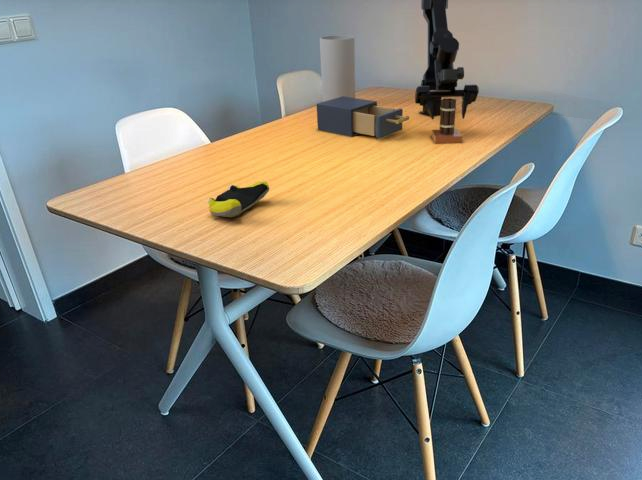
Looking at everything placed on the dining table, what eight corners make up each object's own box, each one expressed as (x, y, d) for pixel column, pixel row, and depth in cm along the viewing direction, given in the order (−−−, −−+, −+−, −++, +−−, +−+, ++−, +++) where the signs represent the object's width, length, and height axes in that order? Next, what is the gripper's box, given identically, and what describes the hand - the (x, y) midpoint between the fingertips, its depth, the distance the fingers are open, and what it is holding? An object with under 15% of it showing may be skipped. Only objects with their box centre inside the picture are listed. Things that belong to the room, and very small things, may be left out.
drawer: (414, 132, 177) (415, 110, 174) (391, 141, 169) (392, 119, 165) (369, 123, 187) (369, 103, 184) (345, 132, 179) (345, 110, 176)
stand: (431, 136, 176) (431, 129, 175) (456, 135, 176) (457, 129, 175) (435, 143, 169) (435, 136, 168) (461, 142, 169) (462, 136, 168)
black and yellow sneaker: (274, 202, 131) (239, 196, 135) (272, 180, 128) (236, 175, 132) (237, 227, 119) (200, 220, 123) (234, 203, 116) (196, 196, 120)
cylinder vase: (362, 107, 213) (361, 36, 200) (339, 113, 205) (337, 40, 193) (338, 102, 220) (336, 34, 208) (316, 108, 212) (312, 38, 200)
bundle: (435, 132, 172) (437, 99, 167) (446, 130, 174) (448, 97, 169) (446, 135, 168) (448, 102, 164) (457, 133, 171) (459, 100, 166)
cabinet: (376, 127, 186) (377, 101, 182) (351, 136, 177) (350, 109, 173) (343, 121, 195) (343, 96, 190) (317, 129, 186) (316, 103, 181)
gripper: (417, 58, 164) (420, 104, 160) (480, 56, 164) (485, 102, 160) (413, 80, 175) (416, 124, 171) (472, 79, 175) (476, 123, 171)
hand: (448, 118), depth 168 cm, fingers open, 9 cm apart
